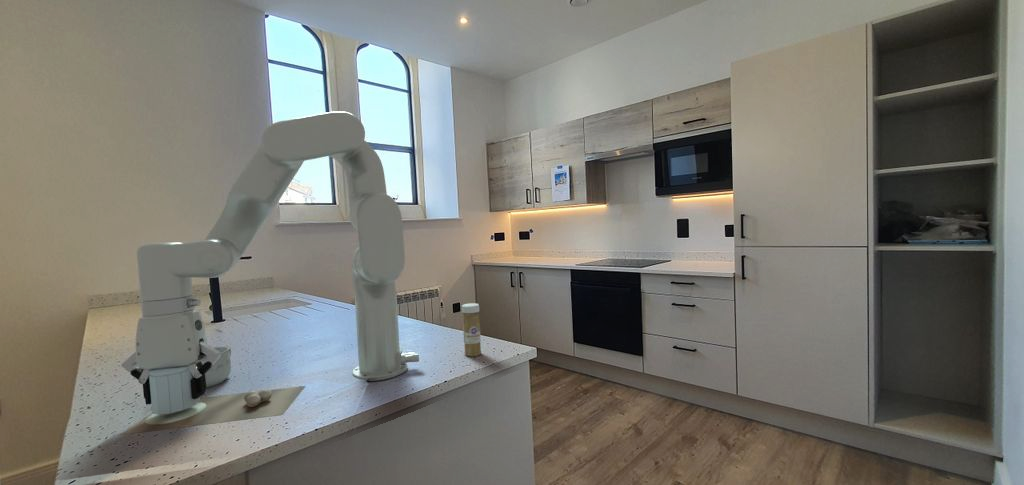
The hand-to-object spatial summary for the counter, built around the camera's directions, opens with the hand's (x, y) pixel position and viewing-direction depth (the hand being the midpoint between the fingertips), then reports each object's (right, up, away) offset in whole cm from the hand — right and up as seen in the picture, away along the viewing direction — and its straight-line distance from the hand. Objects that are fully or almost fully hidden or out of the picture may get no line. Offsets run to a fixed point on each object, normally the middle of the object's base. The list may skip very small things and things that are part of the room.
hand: (176, 398), depth 78 cm
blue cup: (0, -1, 0) cm, 1 cm away
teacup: (-6, -4, +17) cm, 19 cm away
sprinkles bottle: (+54, 0, +30) cm, 62 cm away
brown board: (+8, -3, +2) cm, 9 cm away
